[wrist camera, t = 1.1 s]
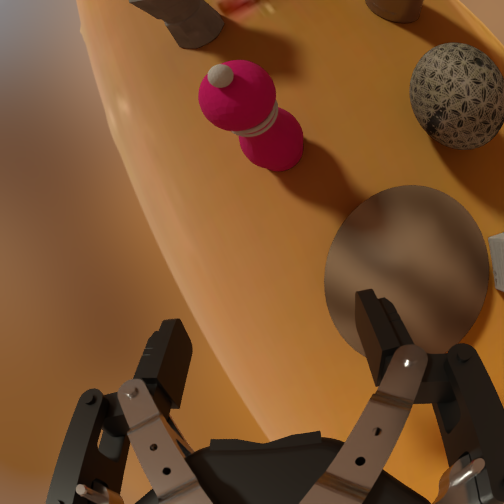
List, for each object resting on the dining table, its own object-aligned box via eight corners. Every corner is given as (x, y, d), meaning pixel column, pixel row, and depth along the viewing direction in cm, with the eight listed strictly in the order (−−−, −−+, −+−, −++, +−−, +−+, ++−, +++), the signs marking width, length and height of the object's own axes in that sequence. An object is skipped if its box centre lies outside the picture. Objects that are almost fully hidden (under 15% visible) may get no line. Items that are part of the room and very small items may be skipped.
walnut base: (388, 159, 31) (395, 148, 26) (494, 258, 27) (513, 262, 22) (293, 287, 36) (286, 295, 31) (404, 375, 32) (411, 394, 27)
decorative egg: (448, 179, 29) (505, 149, 14) (383, 113, 30) (403, 48, 16) (488, 127, 26) (542, 86, 11) (429, 68, 27) (456, 4, 13)
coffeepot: (244, 26, 35) (195, -48, 18) (202, 62, 37) (135, -1, 20) (192, 2, 37) (142, -53, 20) (157, 33, 39) (97, -14, 22)
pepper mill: (317, 160, 34) (289, 82, 15) (265, 184, 36) (185, 138, 17) (292, 114, 34) (243, 16, 15) (243, 138, 36) (158, 66, 17)
